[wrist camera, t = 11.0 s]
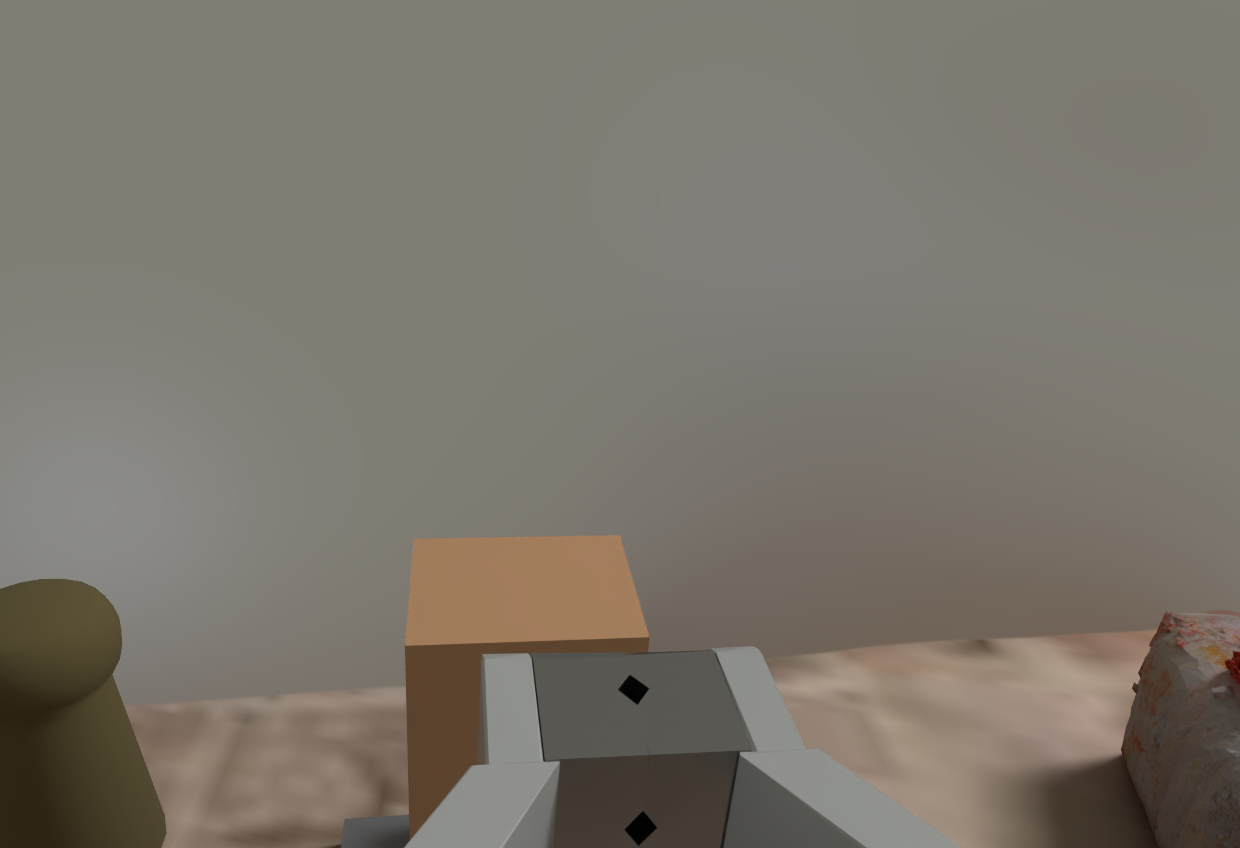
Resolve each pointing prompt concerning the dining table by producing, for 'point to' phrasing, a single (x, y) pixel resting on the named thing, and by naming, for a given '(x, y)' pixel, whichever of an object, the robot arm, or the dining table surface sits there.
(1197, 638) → the food item
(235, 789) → the dining table surface
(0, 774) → the cork
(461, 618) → the orange brown tall block
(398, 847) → the base board
